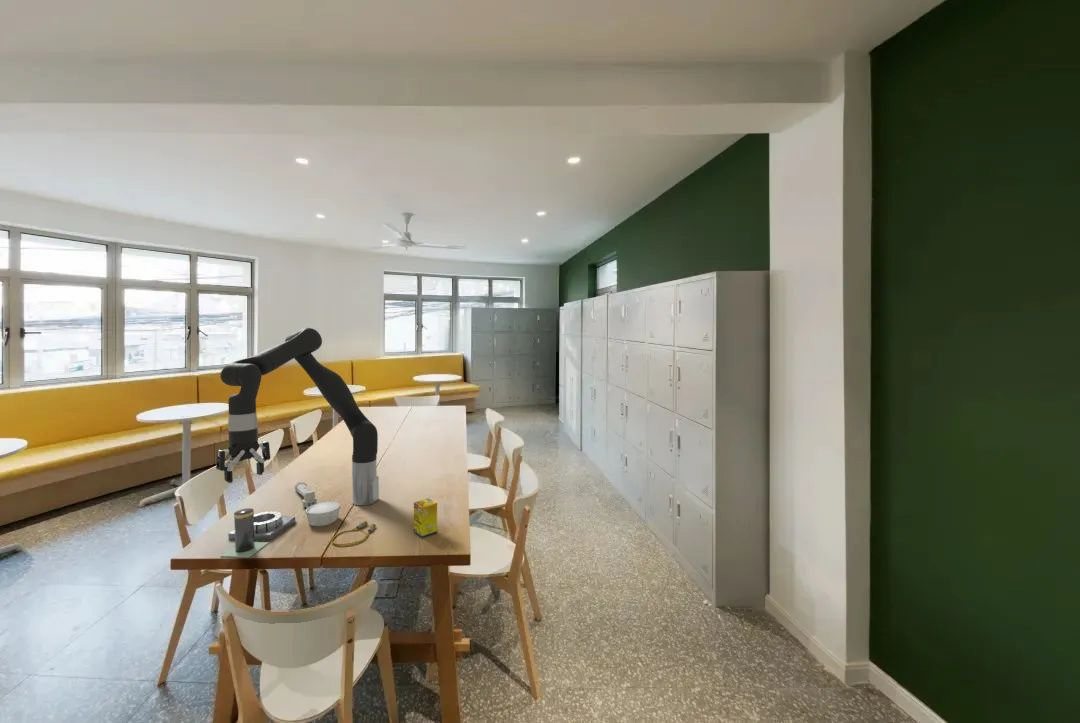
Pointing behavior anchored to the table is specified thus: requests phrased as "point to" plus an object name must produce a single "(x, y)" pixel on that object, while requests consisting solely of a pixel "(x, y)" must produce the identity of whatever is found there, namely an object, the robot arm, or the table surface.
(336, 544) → the extension cord
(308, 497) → the white stepped bar
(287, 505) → the table surface
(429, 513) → the supplement box
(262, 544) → the mat
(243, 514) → the dark grey cylinder
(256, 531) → the chuck block
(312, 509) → the ramekin
